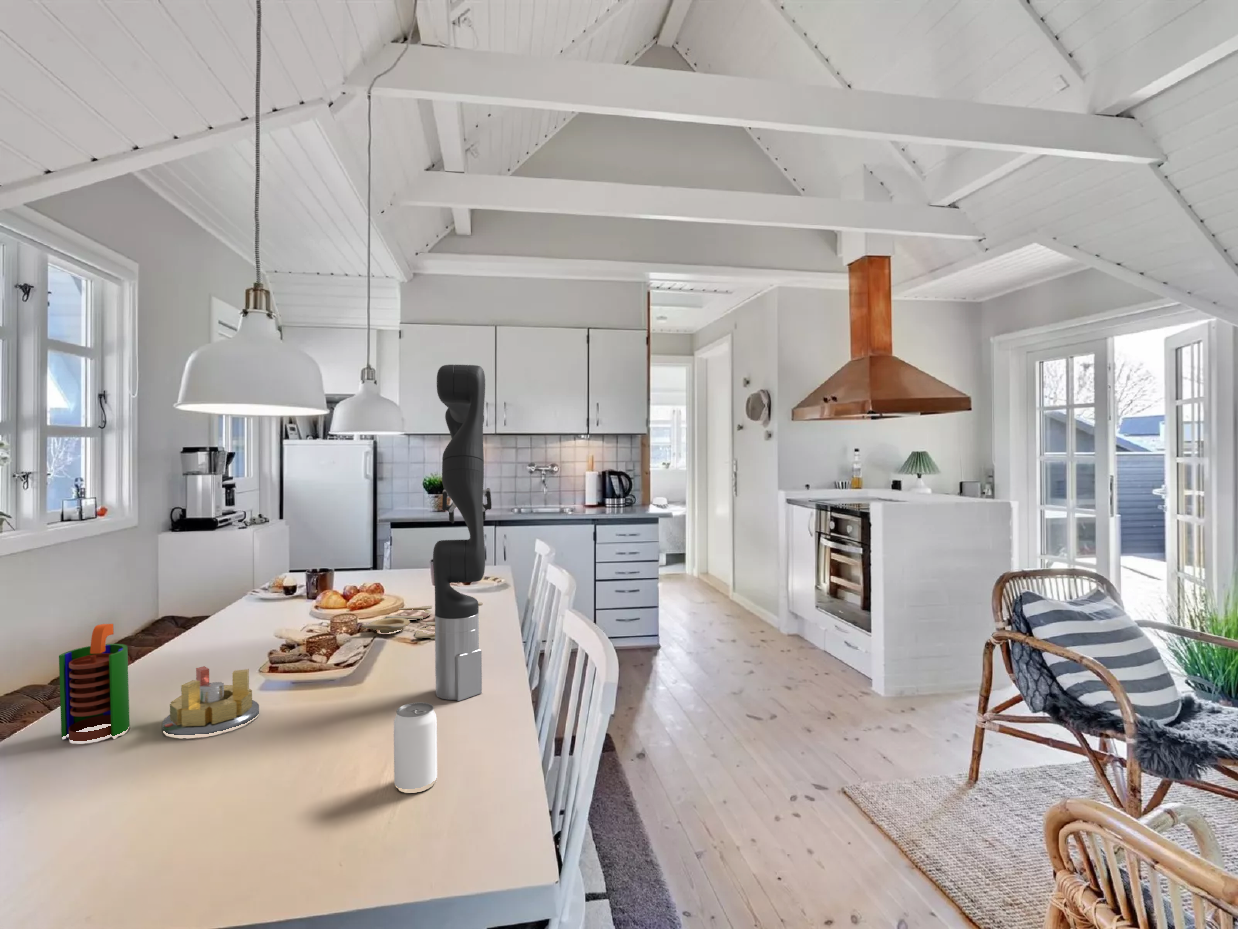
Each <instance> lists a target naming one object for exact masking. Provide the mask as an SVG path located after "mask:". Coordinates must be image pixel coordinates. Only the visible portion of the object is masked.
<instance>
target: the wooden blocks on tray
mask: <svg viewBox="0 0 1238 929" xmlns="http://www.w3.org/2000/svg"><path fill="white" fill-rule="evenodd" d="M195 674H196V675H195V676H196V678H195V680H194V679H192V680H190V681H188V682H185V683H183V684H181V685H180V687H181V689H180V690H181V695H179V696H178V697H176V698H175V699H173V700H171V701H170V703H169V715H170V720H171V721H172V722H173V723H175V724H176V725H177V726H178V725H181V724H182V726H205V725H207V724H208V723H209V722H210V723H211V724H216V723H219V722H223V721H226V720H230V719H233V718H237V715H243V714H244V713H245V712H246V711H248V710H249V709H250V708H251V707H252V700H253V690H252V689H251V688H250V670H249V668H245V669H237V670H236V669H235V670H233V671H232V673H231V674H232V678H231V679H232V684H224V700H221V701H218V702H214V703H209V704H200V686H202V685H204V684H208V683H210V668H208V667H207V666H206V665H203V666H200V667H196V668H195Z"/></svg>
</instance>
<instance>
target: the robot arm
mask: <svg viewBox="0 0 1238 929" xmlns="http://www.w3.org/2000/svg"><path fill="white" fill-rule="evenodd" d="M485 375H486V374H485V370H484V368H482V366H480V365H475V364H444V365H442V366H440V367H439V368H438V370H437V375H436V392H437V396H438V399H439V401H440V402H441V403H442V404H443V405H445V407H447V409H446V411H445V414H444V418H445V423H446V426H447V428H448V431H449V434H450V437H451V439H450V441H449V442H448V444H447V445H446V447H445V449H444V451H443V453H442V458H441V460H442V462H441V464H442V465H441V481H442V482H441V483H442V485H443V490H442V506H441V508H442V511H447V512H448V520H449V522H451V524H454V523H455V509H458V511H459V513H460V515H461V516H462V518H463V520H464V522H465V525H466V527H467V529H468V533H469V539H445V540H444V539H443V540H441V539H440V540H438V541H437V542H436V543H435V545H434V547H433V551H432V568H433V583H434V622H435V639H434V648H435V649H434V653H435V655H434V656H435V658H434V659H435V660H434V661H435V662H434V663H435V669H434V670H435V671H434V672H435V695H436V697H437V698H439V699H442V700H451V701H457V702H459V701H464V700H466V699H468V698H471V697H474V696H477V695H480V694H482V690H483V686H482V685H483V682H482V681H483V680H482V679H483V678H482V677H483V676H482V675H483V672H482V667H483V666H482V665H483V664H482V659H483V658H482V656H483V655H482V650H481V649H480V643H479V642H480V635H479V634H480V630H479V629H480V628H479V625H480V624H479V623H480V622H479V619H480V616H479V614H480V613H479V611H480V610H479V609H480V608H479V607H480V606H479V605H478V603H479V601H478V600H477V598H475V597H473V596H471V595H468V594H464V593H461V592H459V591H458V590H456V589H454V588H453V587H452V586H451V584H454V583H455V584H458V583H476V582H481V581H482V580H483V578H484V575H485V569H486V549H485V548H486V547H485V533H484V531H485V529H484V521H486V512H487V510H492V495H491V494H492V493H491V488H490V487H488V488H486V489H484V479H485V478H484V477H485V472H484V470H485V465H484V464H485V459H484V428H483V427H484V423H485V415H484V414H485V413H484V412H485V398H486V396H485V395H486V376H485ZM449 498H450V500H451V501H452V502H451V503H450V504H448V499H449ZM484 498H486V504H485V503H484Z"/></svg>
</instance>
